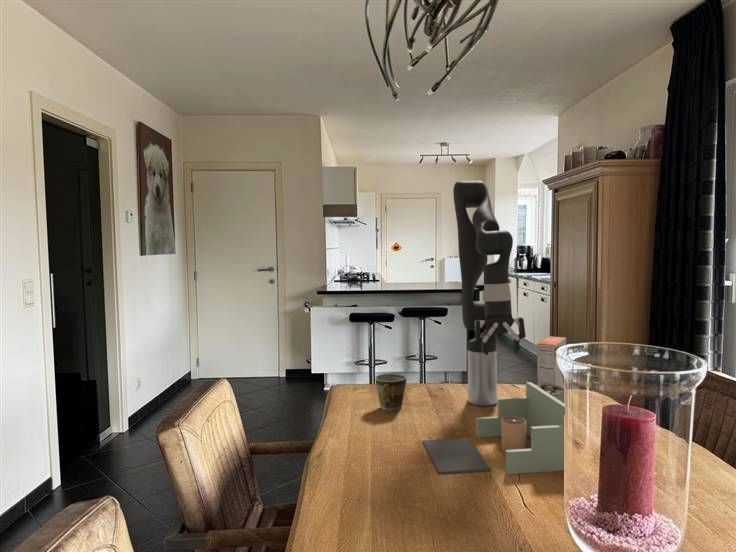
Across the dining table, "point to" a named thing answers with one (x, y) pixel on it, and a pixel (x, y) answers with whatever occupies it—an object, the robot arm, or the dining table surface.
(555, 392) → the food container
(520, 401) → the stepped shelf frame
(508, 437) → the pink and brown cylinder
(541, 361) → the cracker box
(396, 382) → the ceramic cup
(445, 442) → the charcoal mat
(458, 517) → the dining table surface
